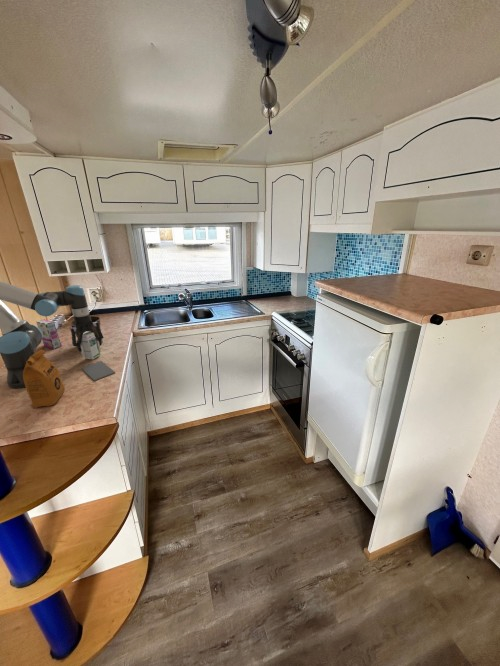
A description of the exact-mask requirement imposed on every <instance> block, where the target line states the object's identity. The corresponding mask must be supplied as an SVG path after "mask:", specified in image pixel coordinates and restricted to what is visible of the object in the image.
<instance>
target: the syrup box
mask: <svg viewBox="0 0 500 666" xmlns="http://www.w3.org/2000/svg"><path fill="white" fill-rule="evenodd" d="M81 345H82V347H83V350H84V354H85V357H84V359H87V360H95V359H96V358H98V357H100V356H101V352H100V351H99V347H98V344H97V340H96V337H95V335H94V333H92V332H90V331H86V332H84V333H83V335H82V340H81Z"/></svg>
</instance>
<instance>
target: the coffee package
mask: <svg viewBox="0 0 500 666" xmlns="http://www.w3.org/2000/svg"><path fill="white" fill-rule="evenodd" d="M45 353H46V351H45V350H43V349H39V350H38V351H36V352H35V354H33V355H32V356H30V358H29V359H28V360H27V362H26V365H25V368H24V371H23V380H24V384H25V386H26V387H25V389H26V392H27V394H28V396H29V399H30V402H31V404H32V406H33V408H34V409H36V408H41V407H49V406H52V405H55V404H57V402H58V401H59V399H60V398H61V397H62V395H63V394H64V392H65V389H66V388H65V385H64V383H63V381H62V378H61V377H62V376H61V373H60V371H59V369H58V367H57V366H56V365H55V364H54V363H53V362H51V361H50V360H48V359H47V357H46V356H45V355H44V354H45Z"/></svg>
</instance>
